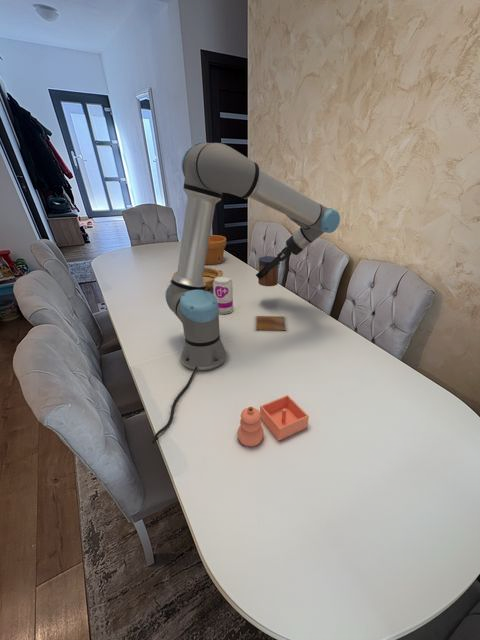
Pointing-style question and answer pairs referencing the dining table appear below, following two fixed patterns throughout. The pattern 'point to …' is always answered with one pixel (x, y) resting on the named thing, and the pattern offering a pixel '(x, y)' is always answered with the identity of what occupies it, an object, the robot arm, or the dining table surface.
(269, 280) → the jar
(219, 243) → the flower pot
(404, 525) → the dining table surface
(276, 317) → the coaster
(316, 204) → the robot arm
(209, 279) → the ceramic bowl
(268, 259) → the jar lid
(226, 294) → the supplement can
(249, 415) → the pottery
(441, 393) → the dining table surface
